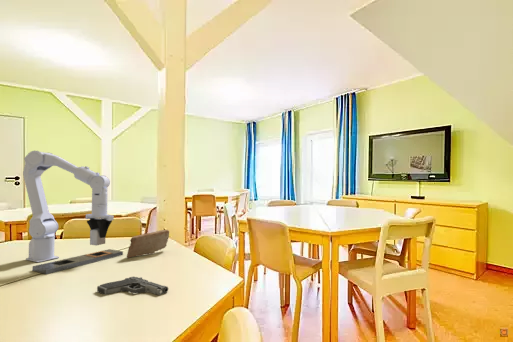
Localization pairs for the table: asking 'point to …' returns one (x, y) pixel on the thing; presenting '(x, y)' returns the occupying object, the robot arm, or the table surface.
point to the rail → (76, 261)
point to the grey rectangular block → (96, 237)
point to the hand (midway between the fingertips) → (99, 237)
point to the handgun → (132, 286)
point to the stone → (148, 243)
